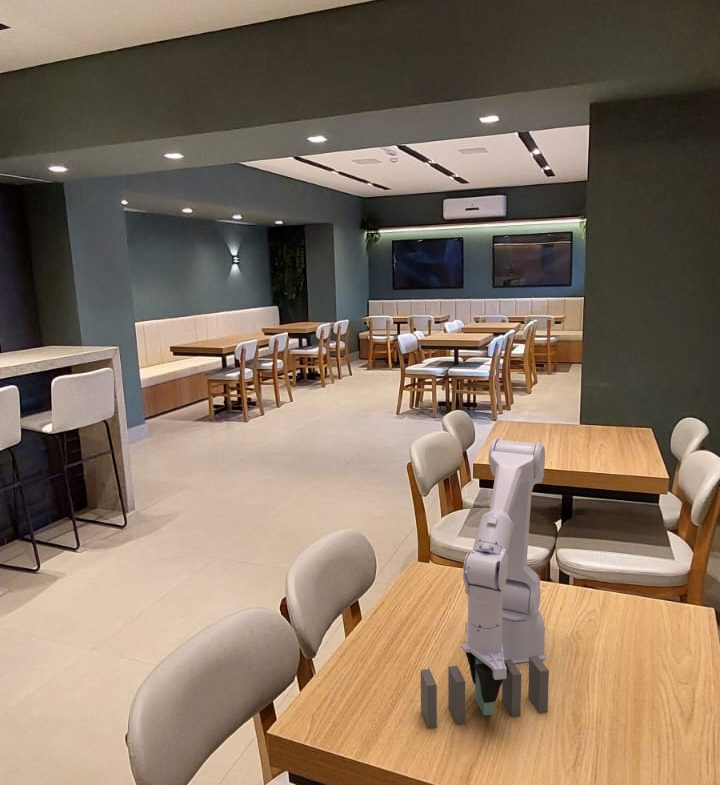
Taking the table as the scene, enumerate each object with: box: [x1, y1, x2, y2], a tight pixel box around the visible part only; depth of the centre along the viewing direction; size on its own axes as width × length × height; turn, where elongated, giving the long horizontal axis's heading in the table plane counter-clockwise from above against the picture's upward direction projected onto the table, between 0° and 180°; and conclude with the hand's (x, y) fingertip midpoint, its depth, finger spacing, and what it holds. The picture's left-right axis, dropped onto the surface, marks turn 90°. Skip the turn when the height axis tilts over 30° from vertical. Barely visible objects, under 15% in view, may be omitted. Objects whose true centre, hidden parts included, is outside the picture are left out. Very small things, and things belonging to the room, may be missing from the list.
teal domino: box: [474, 658, 494, 716], centre depth 106 cm, size 2×4×8 cm, turn 9°
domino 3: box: [501, 659, 522, 718], centre depth 107 cm, size 2×4×8 cm, turn 9°
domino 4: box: [527, 656, 550, 714], centre depth 108 cm, size 2×4×8 cm, turn 9°
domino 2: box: [447, 665, 466, 726], centre depth 106 cm, size 2×4×8 cm, turn 9°
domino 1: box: [420, 668, 438, 730], centre depth 105 cm, size 2×4×8 cm, turn 9°
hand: (484, 691), depth 106 cm, fingers closed on teal domino, 4 cm apart
